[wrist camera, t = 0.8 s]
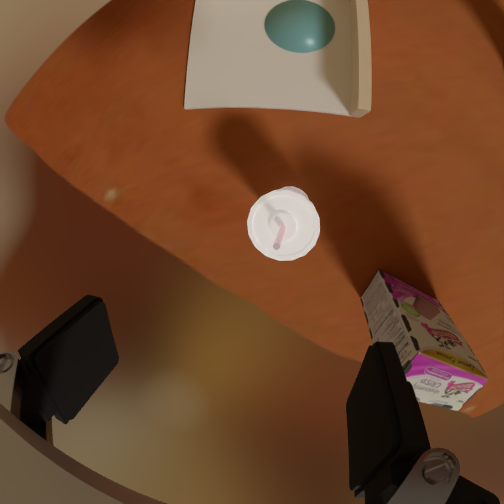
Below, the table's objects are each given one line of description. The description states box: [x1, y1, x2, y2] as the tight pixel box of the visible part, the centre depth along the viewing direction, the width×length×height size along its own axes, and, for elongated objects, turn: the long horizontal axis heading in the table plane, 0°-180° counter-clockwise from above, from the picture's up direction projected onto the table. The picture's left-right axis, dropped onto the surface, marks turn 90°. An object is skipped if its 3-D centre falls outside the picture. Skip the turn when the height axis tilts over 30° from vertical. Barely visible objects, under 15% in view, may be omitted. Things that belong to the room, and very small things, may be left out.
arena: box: [184, 0, 371, 118], centre depth 22 cm, size 20×18×6 cm
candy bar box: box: [360, 269, 488, 411], centre depth 25 cm, size 11×5×16 cm, turn 68°
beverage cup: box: [247, 186, 320, 261], centre depth 25 cm, size 6×6×14 cm
